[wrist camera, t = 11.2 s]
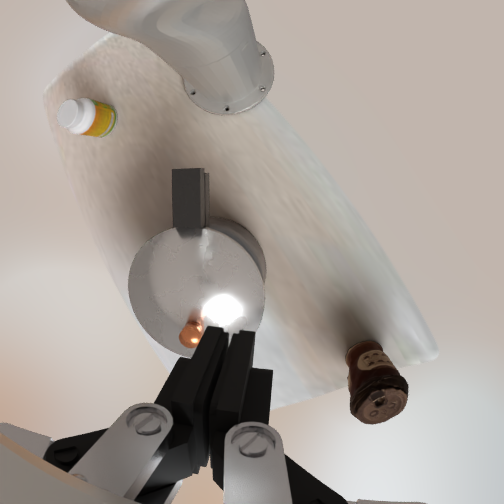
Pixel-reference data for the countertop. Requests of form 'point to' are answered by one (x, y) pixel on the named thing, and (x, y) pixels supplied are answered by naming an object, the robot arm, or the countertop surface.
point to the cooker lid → (193, 276)
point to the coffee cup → (374, 384)
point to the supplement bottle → (87, 117)
